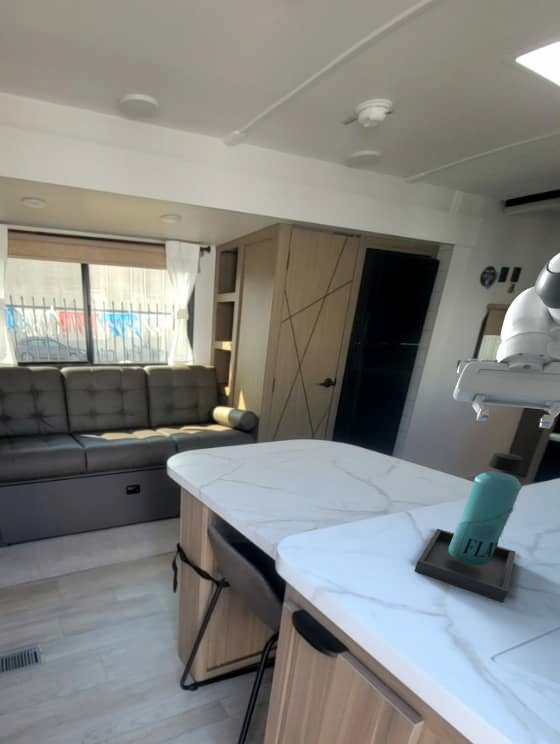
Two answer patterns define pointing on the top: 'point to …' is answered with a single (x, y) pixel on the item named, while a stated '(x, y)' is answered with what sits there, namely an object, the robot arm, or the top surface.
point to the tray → (467, 568)
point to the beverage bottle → (486, 511)
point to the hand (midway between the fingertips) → (513, 422)
